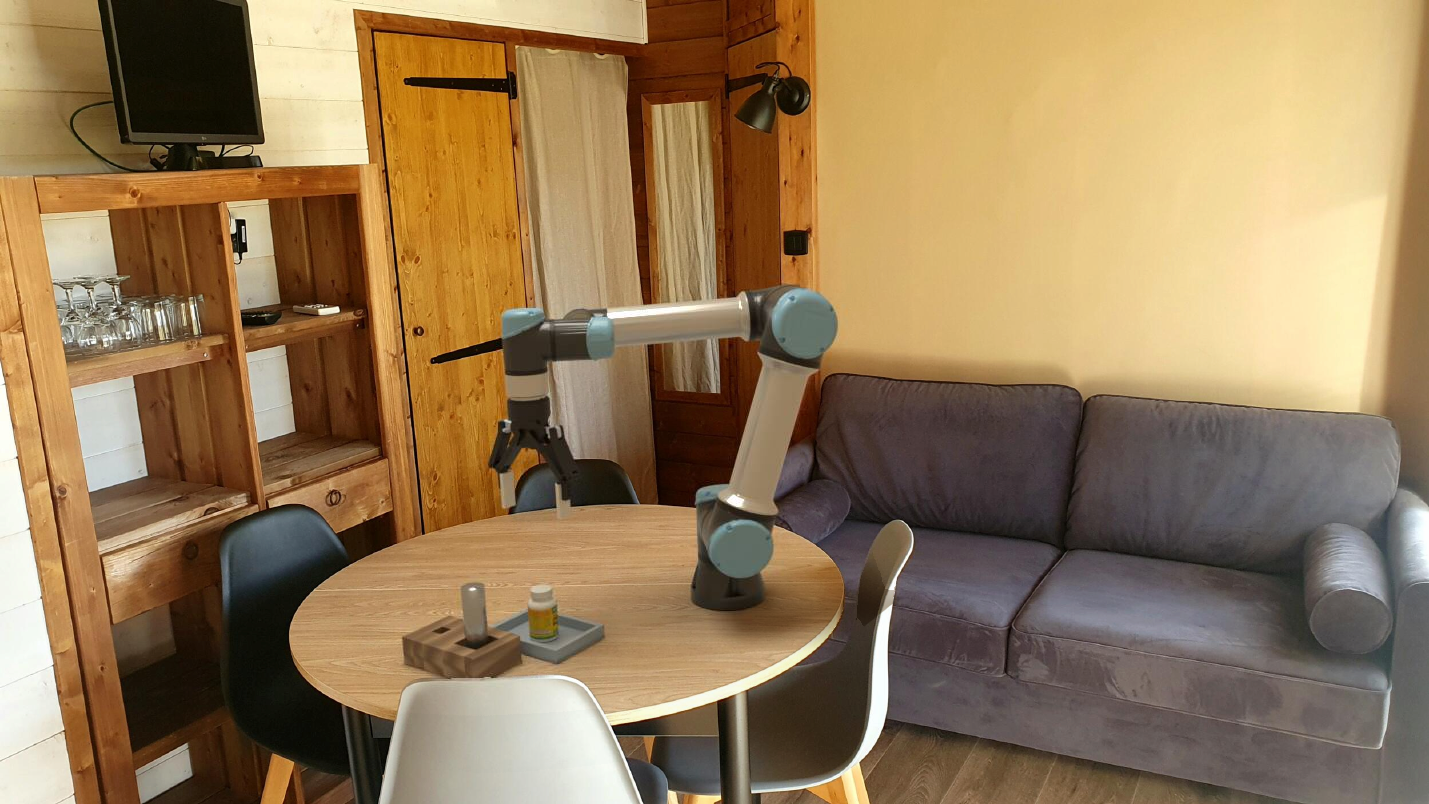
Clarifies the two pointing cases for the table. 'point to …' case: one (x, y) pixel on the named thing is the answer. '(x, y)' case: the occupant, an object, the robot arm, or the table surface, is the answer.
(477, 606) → the cylinder
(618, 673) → the table surface
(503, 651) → the wooden peg board
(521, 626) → the tray
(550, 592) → the supplement bottle
